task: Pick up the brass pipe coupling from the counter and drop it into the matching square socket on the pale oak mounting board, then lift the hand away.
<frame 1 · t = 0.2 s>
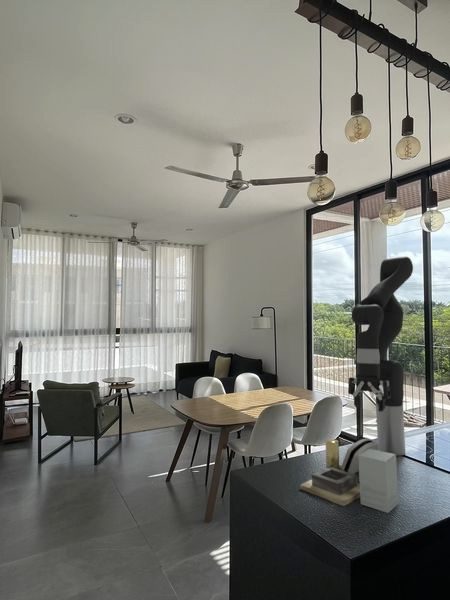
hand: (369, 409, 128), 18 cm above the table, tool pointing down, fingers open, 8 cm apart
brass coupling: (333, 473, 117), on the table
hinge: (360, 468, 122), on the table
socket board: (334, 490, 105), on the table
supplement box: (379, 504, 97), on the table
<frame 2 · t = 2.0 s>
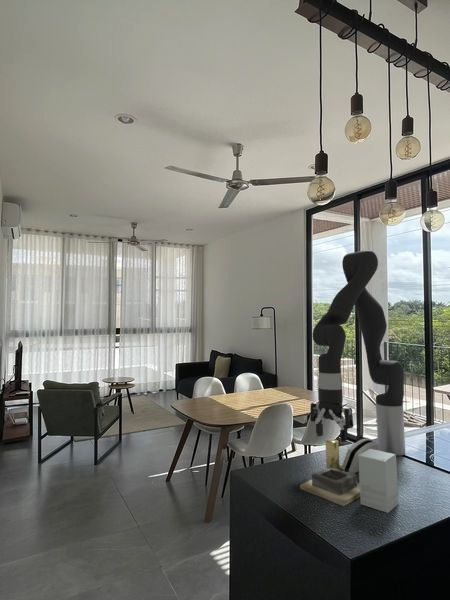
hand: (331, 438, 118), 11 cm above the table, tool pointing down, fingers open, 8 cm apart
nothing on the table moved.
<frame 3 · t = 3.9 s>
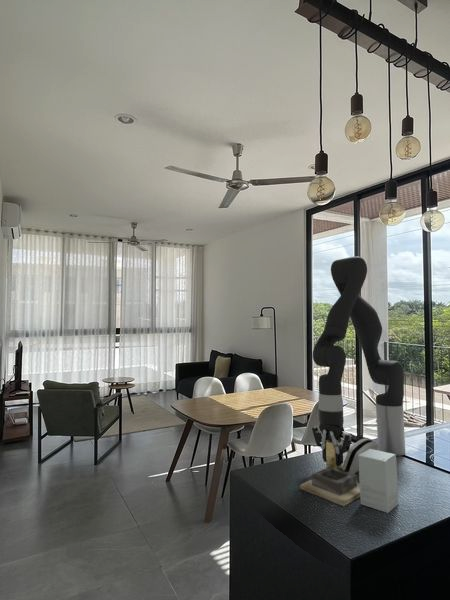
hand: (332, 462, 117), 3 cm above the table, tool pointing down, fingers closed on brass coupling, 4 cm apart
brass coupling: (333, 473, 117), on the table, touching gripper
everything else where it was.
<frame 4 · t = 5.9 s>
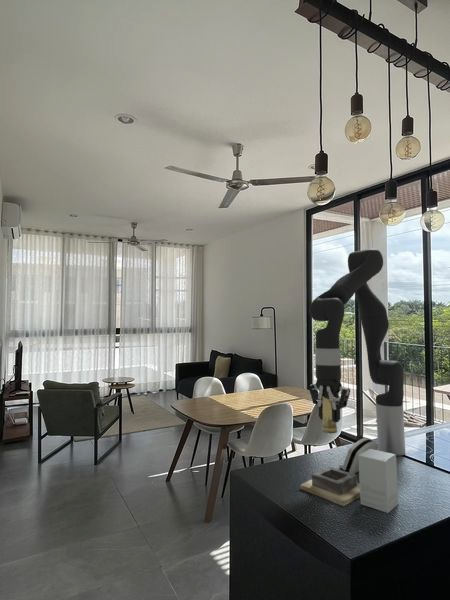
hand: (329, 420, 112), 18 cm above the table, tool pointing down, fingers closed on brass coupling, 4 cm apart
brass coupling: (329, 431, 112), point 15 cm above the table, touching gripper
everything else where it was.
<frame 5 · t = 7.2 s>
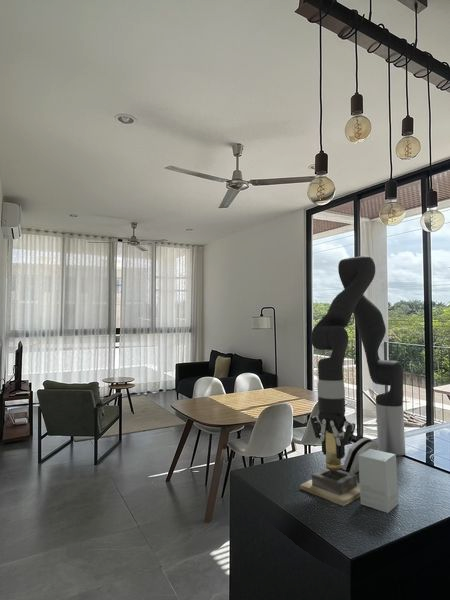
hand: (333, 456, 106), 9 cm above the table, tool pointing down, fingers closed on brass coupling, 4 cm apart
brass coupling: (333, 467, 106), point 6 cm above the table, touching gripper
everything else where it was.
when the fingers open (6 cm above the table, at t = 8.2 s): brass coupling drops 1 cm, resting on socket board.
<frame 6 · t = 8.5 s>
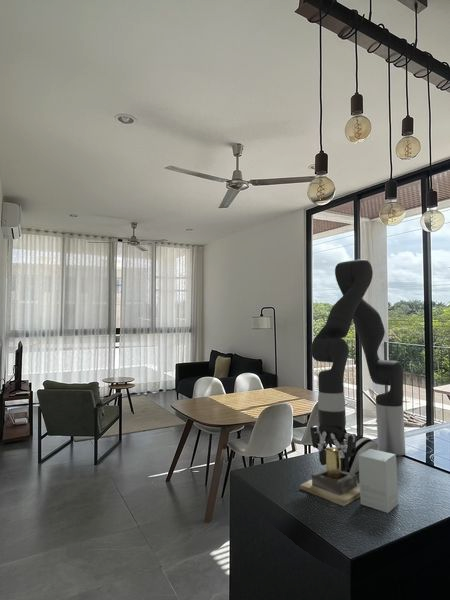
hand: (333, 467, 106), 6 cm above the table, tool pointing down, fingers open, 6 cm apart
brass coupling: (334, 485, 105), point 1 cm above the table, touching socket board
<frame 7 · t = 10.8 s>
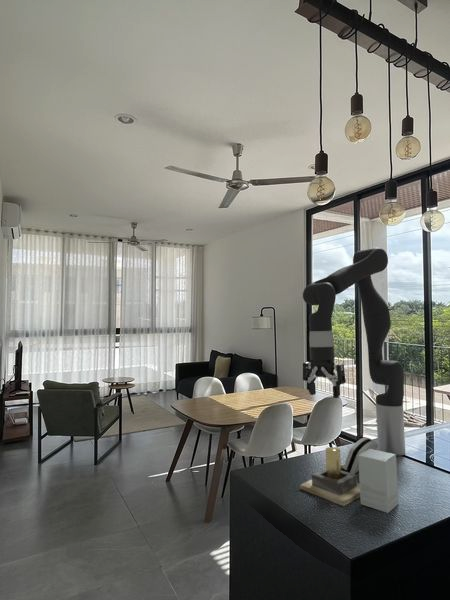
hand: (324, 396, 118), 24 cm above the table, tool pointing down, fingers open, 8 cm apart
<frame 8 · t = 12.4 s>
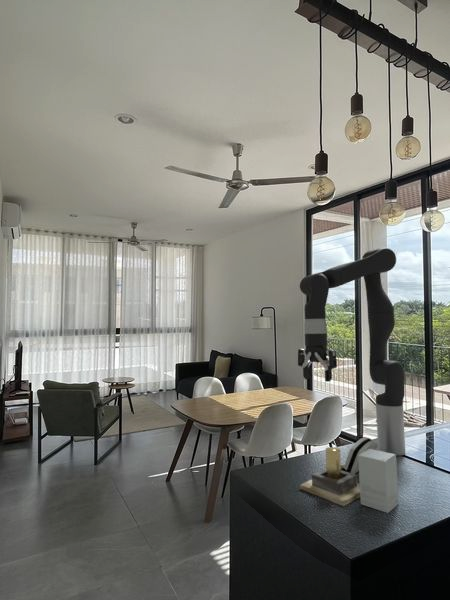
hand: (317, 380, 126), 28 cm above the table, tool pointing down, fingers open, 8 cm apart
at the end: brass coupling 0.1 cm off-centre on the socket board, point 1.2 cm above the socket board's base; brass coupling tilted 0°; the gripper is holding nothing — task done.
